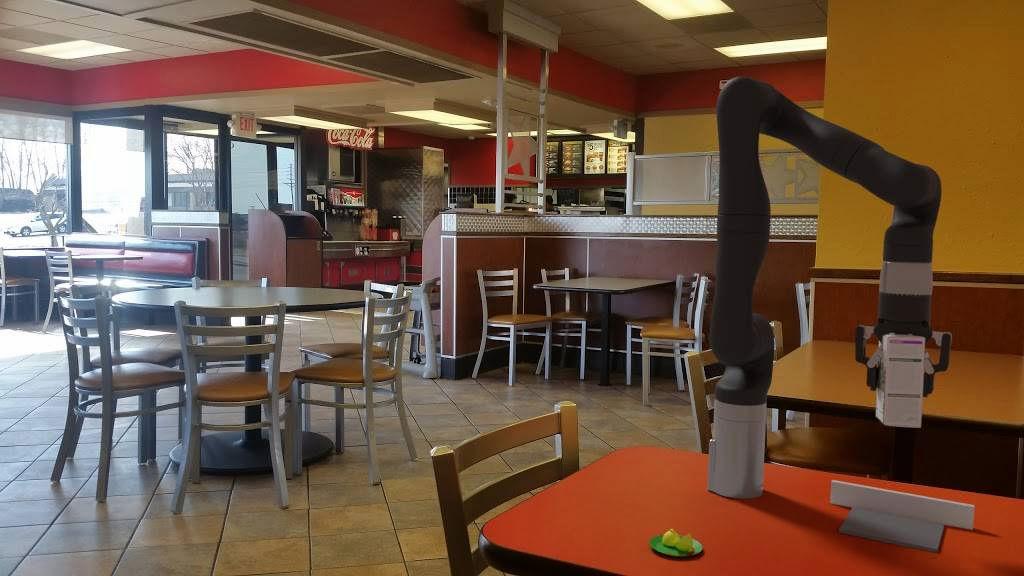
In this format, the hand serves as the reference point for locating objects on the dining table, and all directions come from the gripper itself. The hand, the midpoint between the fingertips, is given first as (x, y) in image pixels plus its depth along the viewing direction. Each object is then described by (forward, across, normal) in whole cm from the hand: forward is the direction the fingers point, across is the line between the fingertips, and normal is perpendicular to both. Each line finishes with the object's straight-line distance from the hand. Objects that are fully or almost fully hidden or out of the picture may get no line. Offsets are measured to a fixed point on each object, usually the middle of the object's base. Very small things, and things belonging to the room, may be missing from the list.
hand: (899, 393), depth 127 cm
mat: (+23, 0, 0) cm, 23 cm away
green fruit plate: (+23, -27, -26) cm, 44 cm away
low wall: (+23, 0, +8) cm, 24 cm away
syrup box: (+5, 0, 0) cm, 5 cm away
